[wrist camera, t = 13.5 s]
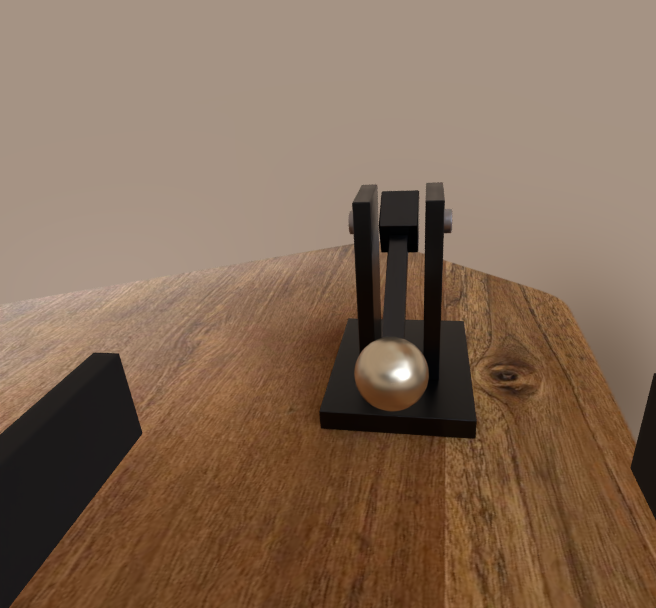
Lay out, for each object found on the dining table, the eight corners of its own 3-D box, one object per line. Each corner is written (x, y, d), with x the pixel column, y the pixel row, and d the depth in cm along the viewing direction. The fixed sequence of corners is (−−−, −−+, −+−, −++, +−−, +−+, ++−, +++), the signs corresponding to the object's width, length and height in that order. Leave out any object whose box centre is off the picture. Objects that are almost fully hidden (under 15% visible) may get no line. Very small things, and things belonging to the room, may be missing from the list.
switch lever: (428, 424, 24) (429, 394, 21) (355, 420, 25) (346, 390, 22) (430, 224, 32) (431, 181, 29) (373, 225, 32) (369, 183, 29)
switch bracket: (475, 439, 28) (491, 219, 23) (320, 428, 30) (301, 223, 24) (463, 335, 39) (472, 169, 33) (349, 332, 41) (339, 173, 35)
